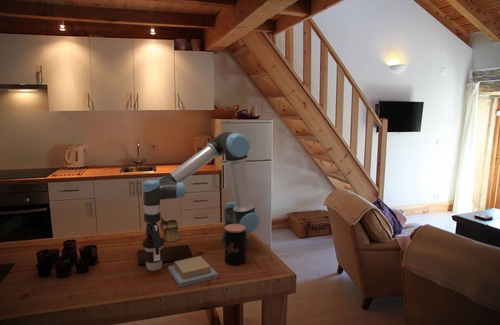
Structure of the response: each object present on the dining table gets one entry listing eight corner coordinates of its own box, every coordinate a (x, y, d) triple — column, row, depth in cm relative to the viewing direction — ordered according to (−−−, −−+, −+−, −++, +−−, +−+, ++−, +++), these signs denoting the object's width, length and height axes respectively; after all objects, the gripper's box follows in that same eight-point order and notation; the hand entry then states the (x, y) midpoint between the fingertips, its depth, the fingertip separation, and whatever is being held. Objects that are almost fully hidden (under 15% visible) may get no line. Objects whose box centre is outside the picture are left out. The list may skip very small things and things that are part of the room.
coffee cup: (159, 273, 163) (158, 243, 161) (139, 271, 165) (138, 241, 163) (168, 264, 173) (167, 235, 170) (149, 262, 175) (148, 233, 172)
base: (203, 262, 175) (203, 253, 174) (217, 277, 159) (217, 267, 159) (168, 270, 166) (167, 260, 165) (179, 287, 151) (179, 276, 150)
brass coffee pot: (156, 237, 207) (155, 208, 204) (179, 236, 210) (179, 207, 207) (156, 243, 199) (154, 213, 196) (180, 241, 202) (179, 211, 199)
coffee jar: (220, 261, 177) (220, 227, 174) (235, 254, 184) (235, 222, 182) (235, 267, 170) (235, 232, 167) (250, 260, 177) (250, 227, 174)
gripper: (138, 206, 174) (140, 247, 177) (150, 221, 152) (151, 267, 155) (153, 205, 177) (154, 244, 180) (167, 219, 156) (168, 263, 159)
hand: (153, 255), depth 168 cm, fingers open, 13 cm apart
